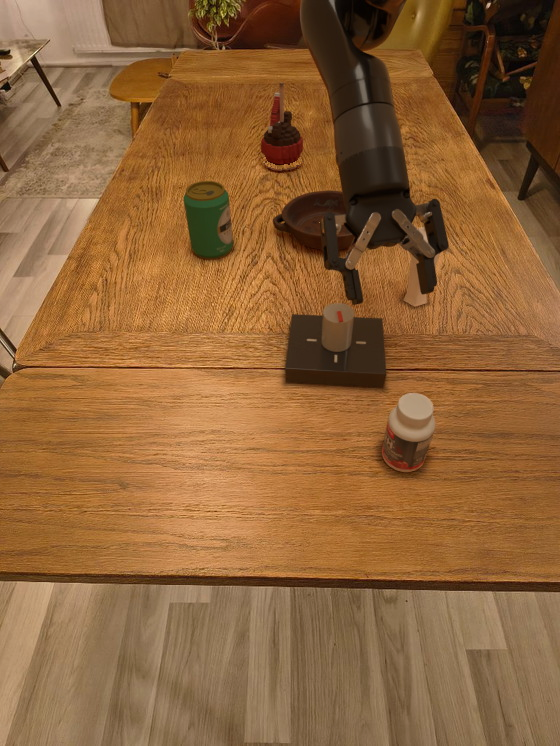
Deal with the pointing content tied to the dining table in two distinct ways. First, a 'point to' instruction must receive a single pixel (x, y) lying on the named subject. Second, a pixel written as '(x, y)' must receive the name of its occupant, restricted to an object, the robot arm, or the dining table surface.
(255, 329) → the dining table surface
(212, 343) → the dining table surface
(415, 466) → the pill bottle
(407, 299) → the perfume bottle
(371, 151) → the robot arm
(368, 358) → the black dial box
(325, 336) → the stove knob
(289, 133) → the cake
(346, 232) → the dish
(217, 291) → the dining table surface
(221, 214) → the beverage can
